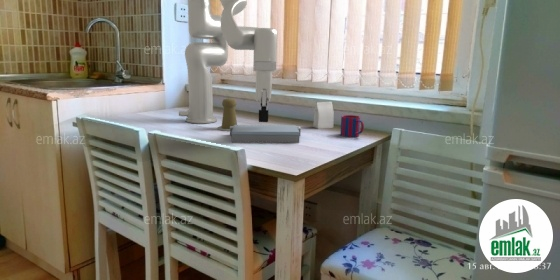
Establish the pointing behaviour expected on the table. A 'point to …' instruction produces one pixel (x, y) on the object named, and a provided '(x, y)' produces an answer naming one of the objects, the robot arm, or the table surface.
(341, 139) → the table surface
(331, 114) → the white printed box
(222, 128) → the pad
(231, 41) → the robot arm
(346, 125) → the mug
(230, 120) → the cork
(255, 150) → the table surface
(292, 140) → the bar
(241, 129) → the panel
